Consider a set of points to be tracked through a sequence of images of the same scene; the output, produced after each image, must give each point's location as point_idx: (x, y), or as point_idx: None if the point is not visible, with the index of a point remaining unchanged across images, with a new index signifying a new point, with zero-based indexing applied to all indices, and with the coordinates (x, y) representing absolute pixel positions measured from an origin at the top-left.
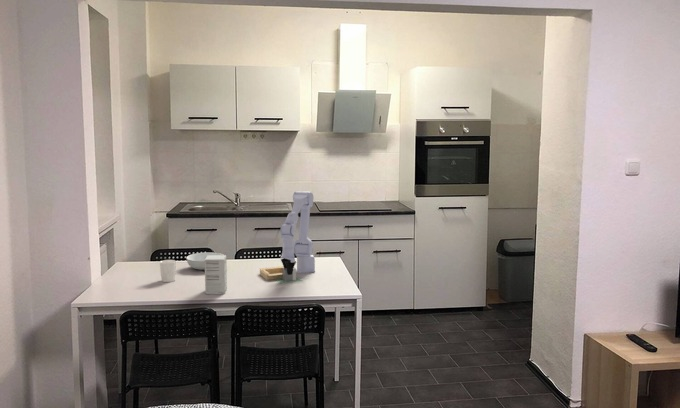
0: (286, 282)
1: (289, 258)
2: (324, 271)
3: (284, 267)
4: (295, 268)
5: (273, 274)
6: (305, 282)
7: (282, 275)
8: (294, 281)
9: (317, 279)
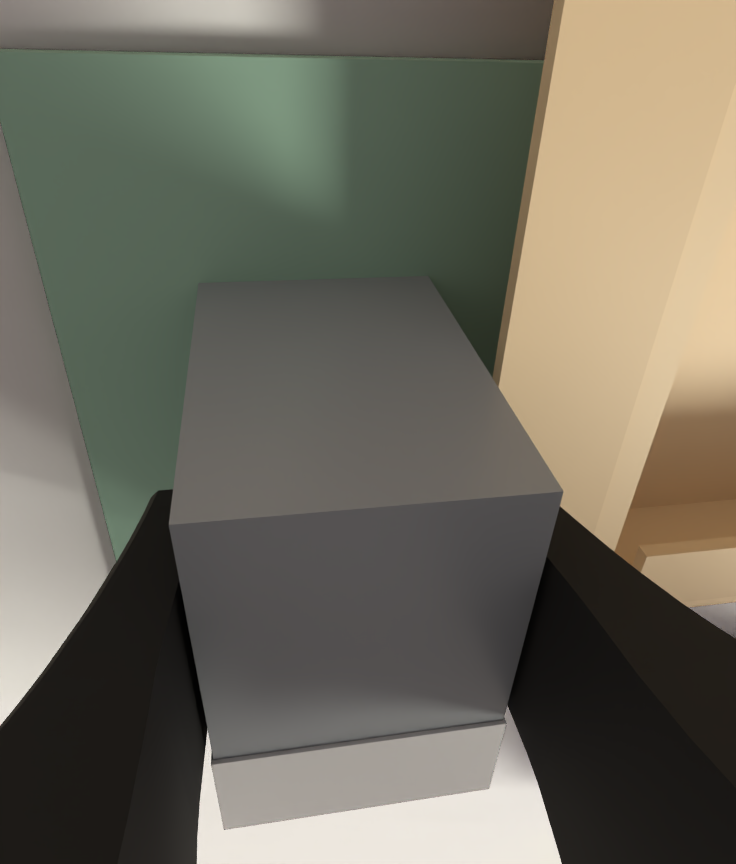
0: (64, 290)
1: None
2: None
3: (560, 589)
4: (254, 822)
5: (690, 20)
6: (52, 644)
7: (446, 332)
8: (119, 492)
9: (208, 788)
